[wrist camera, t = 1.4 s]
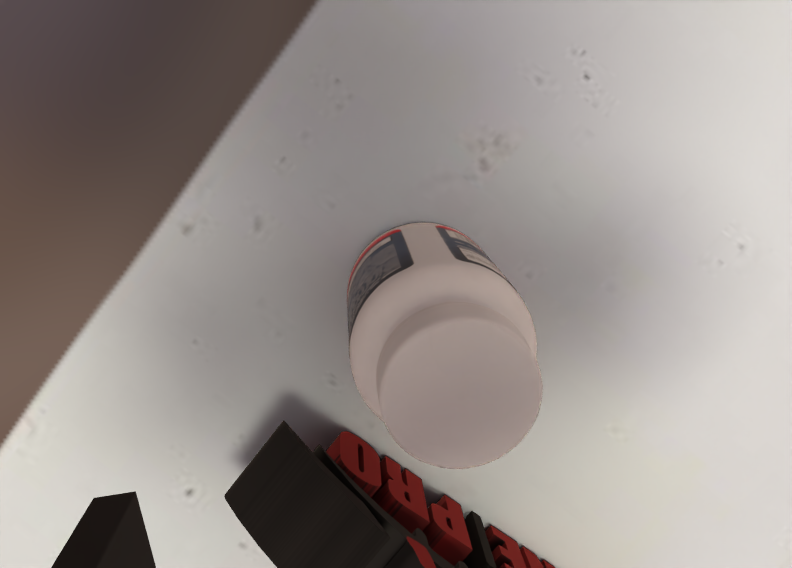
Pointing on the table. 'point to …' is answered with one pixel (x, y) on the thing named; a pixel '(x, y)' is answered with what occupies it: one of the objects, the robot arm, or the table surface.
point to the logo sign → (357, 512)
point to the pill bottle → (442, 346)
